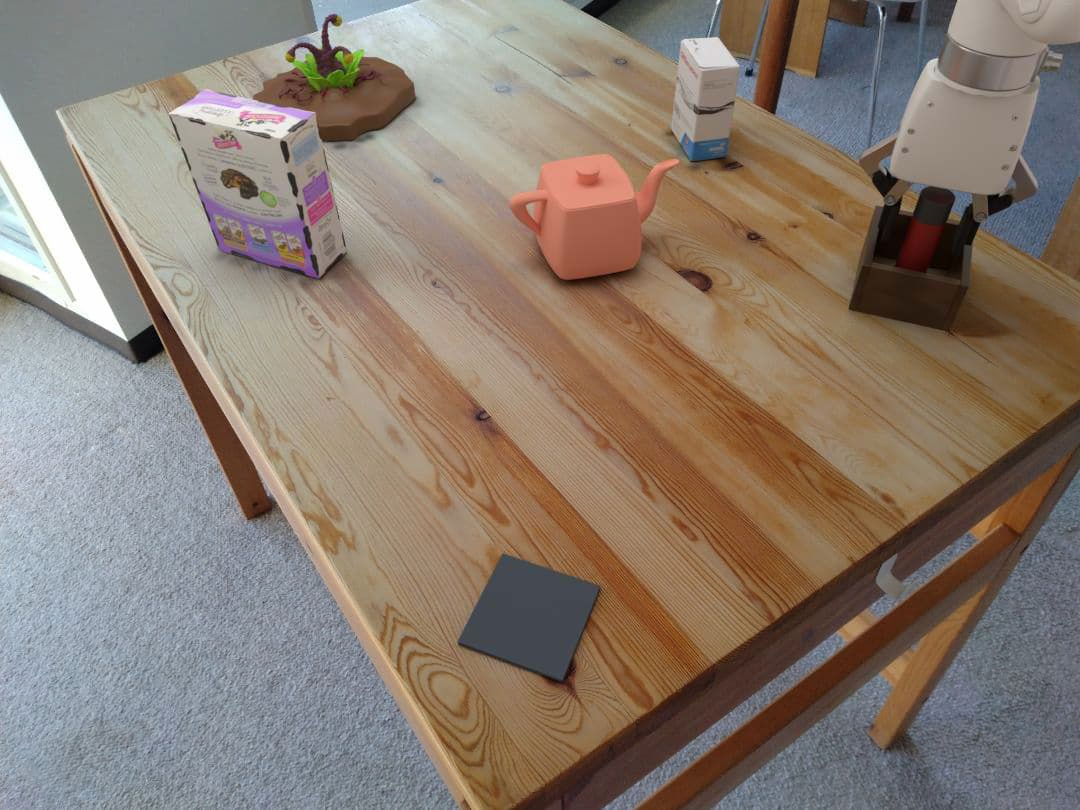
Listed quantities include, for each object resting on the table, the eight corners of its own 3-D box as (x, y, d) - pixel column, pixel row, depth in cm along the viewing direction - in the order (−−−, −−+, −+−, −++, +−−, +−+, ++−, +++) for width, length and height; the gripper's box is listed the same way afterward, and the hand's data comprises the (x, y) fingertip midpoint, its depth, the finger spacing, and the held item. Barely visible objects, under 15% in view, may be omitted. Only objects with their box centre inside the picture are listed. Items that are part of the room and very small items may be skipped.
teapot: (501, 233, 95) (495, 149, 87) (653, 208, 98) (661, 125, 90) (525, 296, 87) (521, 210, 80) (689, 267, 90) (701, 181, 82)
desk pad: (600, 588, 63) (600, 585, 63) (562, 683, 58) (562, 680, 58) (502, 555, 66) (502, 552, 65) (457, 644, 60) (457, 641, 60)
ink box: (728, 158, 105) (743, 65, 96) (689, 162, 104) (700, 69, 96) (706, 124, 111) (718, 34, 102) (669, 129, 110) (678, 38, 102)
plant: (440, 93, 118) (431, 10, 110) (341, 154, 107) (323, 67, 99) (338, 58, 126) (323, -21, 118) (236, 111, 116) (211, 28, 107)
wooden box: (956, 267, 89) (974, 223, 85) (949, 331, 82) (969, 286, 78) (862, 248, 92) (875, 205, 88) (848, 309, 85) (862, 264, 81)
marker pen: (920, 282, 88) (956, 189, 80) (918, 300, 86) (954, 207, 78) (889, 275, 88) (922, 183, 80) (886, 293, 86) (919, 200, 78)
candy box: (350, 251, 93) (318, 110, 81) (318, 282, 89) (281, 139, 78) (249, 222, 97) (205, 84, 85) (215, 250, 94) (164, 110, 82)
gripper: (1101, 56, 70) (1016, 238, 83) (884, 27, 74) (836, 204, 87) (1106, 96, 65) (1015, 283, 78) (874, 63, 70) (825, 244, 83)
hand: (921, 239), depth 83 cm, fingers open, 5 cm apart
